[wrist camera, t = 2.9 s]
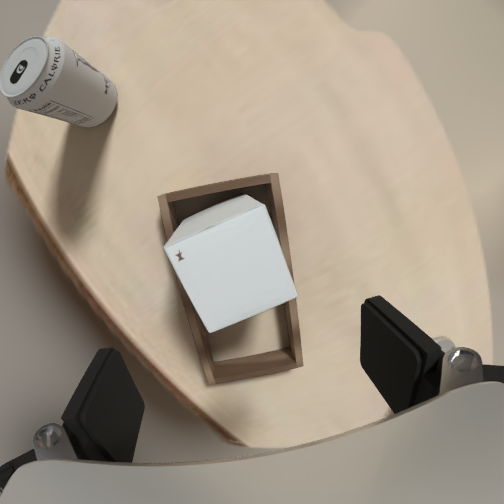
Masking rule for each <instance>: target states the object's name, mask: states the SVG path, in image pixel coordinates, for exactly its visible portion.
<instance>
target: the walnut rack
mask: <svg viewBox="0 0 504 504" xmlns="http://www.w3.org/2000/svg"><path fill="white" fill-rule="evenodd" d="M260 184H266V188H267V194H268V200H269V206H270V212H271V218H272V224H273V227H274V230H275V232H276V235H277V238H278V241H279V243H280V246H281V249H282V252H283V255H284V258H285V260H286V263H287V266H288V269H289V272H290V274H291V277H292V280H293V283H294V279H293V271H292V264H291V256H290V249H289V242H288V235H287V228H286V221H285V214H284V207H283V201H282V194H281V188H280V182H279V176H278V173H270V174H264V175H258V176H252V177H246V178H240V179H235V180H229V181H224V182H219V183H213V184H208V185H203V186H198V187H194V188H189V189H184V190H179V191H175V192H170V193H166V194H163V195H160V196H158V201H159V206H160V211H161V216H162V220H163V225H164V229H165V234H166V238H167V242H168V240H169V239H170V238H171V236H172V235H173V233H174V232H175V231H176V229H177V228H178V227H179V226H178V222H177V217H176V212H175V208H174V203H173V201H177V200H181V199H186V198H191V197H196V196H201V195H206V194H211V193H216V192H221V191H226V190H232V189H237V188H243V187H248V186H254V185H260ZM175 274H176V272H175ZM176 278H177V282H178V286H179V289H180V293H181V297H182V300H183V304H184V307H185V311H186V314H187V318H188V321H189V324H190V328H191V331H192V334H193V338H194V341H195V344H196V347H197V350H198V353H199V356H200V359H201V363H202V366H203V369H204V372H205V374H206V377H207V380H208V383H209V385H211V384H217V383H224V382H230V381H236V380H241V379H247V378H252V377H257V376H262V375H267V374H272V373H276V372H281V371H285V370H290V369H294V368H298V367H302V366H303V358H302V348H301V338H300V329H299V320H298V312H297V303H296V298H294V299H292V300H289V301H287V302H285V303H284V306H285V313H286V320H287V328H288V335H289V343H290V347H289V348H285V349H280V350H276V351H271V352H267V353H262V354H257V355H252V356H247V357H241V358H236V359H230V360H224V361H218V362H214V361H213V358H212V354H211V351H210V348H209V344H208V341H207V337H206V334H205V330H204V327H203V323H202V320H201V318H200V316H199V314H198V313H197V311H196V309H195V307H194V305H193V303H192V302H191V300H190V298H189V296H188V294H187V292H186V291H185V289H184V287H183V285H182V283H181V281H180V280H179V278H178V276H177V274H176Z"/></svg>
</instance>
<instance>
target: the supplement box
mask: <svg viewBox="0 0 504 504" xmlns="http://www.w3.org/2000/svg"><path fill="white" fill-rule="evenodd" d="M163 249H164V251H165V253H166V255H167V257H168V259H169V261H170V263H171V264H172V266H173V268H174V270H175V272H176V274H177V276H178V278H179V280H180V281H181V283H182V285H183V287H184V289H185V291H186V292H187V294H188V296H189V298H190V300H191V302H192V303H193V305H194V307H195V309H196V311H197V313H198V314H199V316H200V318H201V320H202V322H203V323H204V325H205V327H206V329H207V330H208V332H209V333H212V332H215V331H217V330H220V329H222V328H225V327H227V326H230V325H232V324H235V323H237V322H240V321H242V320H245V319H247V318H250V317H252V316H254V315H257V314H259V313H262V312H264V311H266V310H269V309H271V308H273V307H276V306H278V305H280V304H283V303H285V302H287V301H289V300H292V299H294V298H296V297H298V294H297V291H296V288H295V285H294V283H293V280H292V277H291V274H290V272H289V269H288V266H287V263H286V260H285V258H284V255H283V252H282V249H281V246H280V243H279V241H278V238H277V235H276V232H275V230H274V227H273V224H272V222H271V219H270V216H269V214H268V211H267V208H266V206H265V205H264V204H262V203H260V202H258V201H257V200H255V199H253V198H252V197H250V196H248V195H246V194H245V193H242V194H239V195H237V196H234V197H232V198H229V199H227V200H225V201H222V202H220V203H218V204H215V205H213V206H211V207H209V208H206V209H204V210H202V211H200V212H198V213H195V214H193V215H191V216H189V217H187V218H185V219H184V220H183V221H182V222H181V224H180V225H179V227H178V228H177V229H176V231H175V232H174V233H173V235H172V236H171V238H170V239H169V240H168V242H167V243H166V244H165V246H164V247H163Z"/></svg>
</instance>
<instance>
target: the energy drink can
mask: <svg viewBox="0 0 504 504" xmlns="http://www.w3.org/2000/svg"><path fill="white" fill-rule="evenodd" d="M0 90H1V92H2V94H3V95H4V96H6V97H7V98H8V100H9V102H10V104H11V105H12V106H14V107H16V108H18V109H22V110H26V111H30V112H33V113H37V114H41V115H44V116H48V117H52V118H55V119H59V120H62V121H65V122H69V123H72V124H75V125H79V126H82V127H94V126H97V125H99V124H101V123H102V122H104V121H105V120H106V119H107V118H108V117H109V116H110V115H111V114H112V112H113V110H114V108H115V106H116V103H117V96H118V93H117V89H116V86H115V85H114V83H113V82H112V81H111V80H110V79H108V78H107V77H106V76H105V75H104V74H102V73H101V72H100V71H99V70H97V69H96V68H95V67H94V66H92V65H91V64H90V63H89V62H87V61H86V60H85V59H84V58H82V57H81V56H80V55H79V54H77V53H76V52H75V51H74V50H72V49H71V48H70V47H69V46H67V45H66V44H65V43H63V42H62V41H61V40H59V39H58V38H56V37H43V38H42V37H40V36H33V37H30V38H28V39H26V40H24V41H23V42H21V43H20V44H19V45H17V46H16V47H15V48H14V50H13V51H12V52H11V53H10V54H9V56H8V57H7V59H6V61H5V62H4V65H3V67H2V70H1V73H0Z"/></svg>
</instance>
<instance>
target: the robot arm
mask: <svg viewBox="0 0 504 504" xmlns="http://www.w3.org/2000/svg"><path fill="white" fill-rule="evenodd" d="M360 362H361V366H362V368H363V369H364V371H365V372H366V374H367V375H368V376H369V378H370V379H371V381H372V382H373V383H374V385H375V386H376V388H377V389H378V391H379V392H380V394H381V395H382V396H383V398H384V399H385V401H386V402H387V404H388V405H389V406H390V408H391V409H392V411H393V412H394V415H391V416H389V417H386V418H384V419H381V420H378V421H376V422H373V423H370V424H368V425H365V426H362V427H359V428H356V429H353V430H350V431H347V432H344V433H341V434H338V435H335V436H331V437H328V438H324V439H321V440H317V441H313V442H310V443H306V444H302V445H298V446H293V447H289V448H285V449H280V450H275V451H270V452H265V453H259V454H253V455H247V456H241V457H234V458H226V459H217V460H207V461H195V462H177V463H132V460H133V456H134V451H135V447H136V442H137V438H138V433H139V429H140V425H141V421H142V416H143V413H144V401H143V399H142V397H141V395H140V393H139V392H138V390H137V388H136V386H135V384H134V382H133V380H132V378H131V375H130V374H129V371H128V369H127V367H126V365H125V363H124V360H123V358H122V356H121V354H120V352H119V351H116V350H115V349H114V348H103V349H102V348H101V349H99V350H98V352H97V353H96V355H95V357H94V359H93V360H92V362H91V364H90V366H89V367H88V369H87V371H86V372H85V374H84V376H83V378H82V379H81V381H80V383H79V385H78V387H77V388H76V390H75V392H74V394H73V396H72V398H71V399H70V401H69V403H68V405H67V407H66V409H65V411H64V413H63V415H62V417H61V419H62V420H63V421H64V423H63V425H62V426H61V425H60V424H57V423H49V424H46V425H44V426H42V427H41V428H40V429H38V430H37V431H36V433H35V435H34V437H33V447H34V449H32V450H30V451H29V452H27V453H25V454H23V455H21V456H19V457H17V458H15V459H13V460H11V461H9V462H7V463H5V464H4V465H2V466H1V467H0V504H504V366H495V365H483V364H482V359H481V356H480V355H479V354H478V353H477V352H476V351H474V350H472V349H470V348H465V347H457V348H455V345H454V343H453V342H452V341H451V340H450V339H448V338H446V337H439V338H436V339H432V338H430V337H429V336H428V335H427V334H426V333H425V332H423V331H422V330H421V329H420V328H419V327H417V326H416V325H415V324H414V323H413V322H412V321H410V320H409V319H408V318H407V317H406V316H404V315H403V314H402V313H401V312H400V311H398V310H397V309H396V308H395V307H394V306H392V305H391V304H390V303H389V302H387V301H386V300H385V299H384V298H383V297H381V296H375V297H372V298H368V299H366V300H365V302H364V304H362V305H361V348H360Z"/></svg>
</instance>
